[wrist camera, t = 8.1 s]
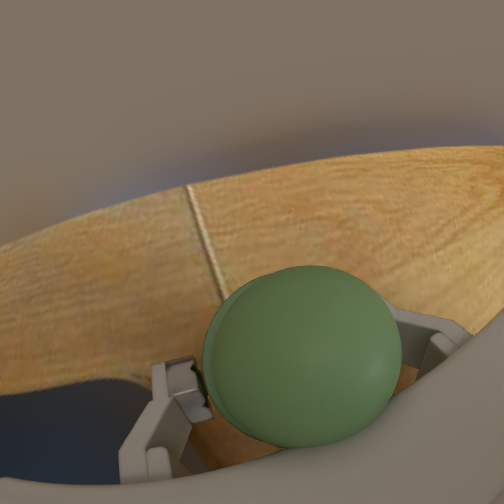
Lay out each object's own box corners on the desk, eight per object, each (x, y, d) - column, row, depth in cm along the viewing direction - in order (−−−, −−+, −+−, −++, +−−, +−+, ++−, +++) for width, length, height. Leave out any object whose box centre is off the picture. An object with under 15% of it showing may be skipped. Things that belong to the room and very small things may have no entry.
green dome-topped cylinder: (240, 415, 14) (286, 535, 3) (197, 340, 16) (134, 297, 4) (314, 371, 16) (477, 376, 4) (272, 300, 17) (369, 183, 6)
